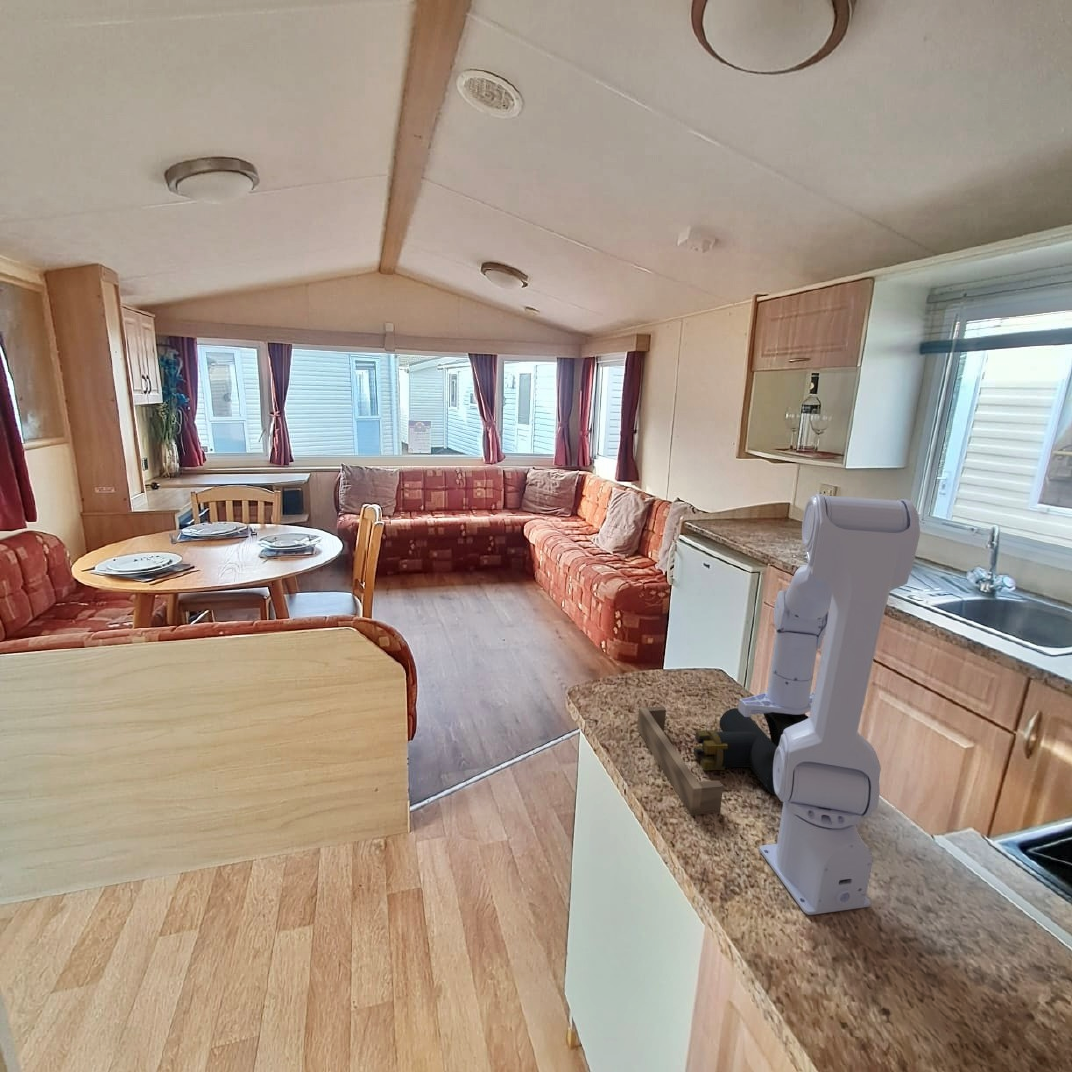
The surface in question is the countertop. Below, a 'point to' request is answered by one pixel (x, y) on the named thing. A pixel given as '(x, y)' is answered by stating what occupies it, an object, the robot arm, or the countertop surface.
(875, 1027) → the countertop surface
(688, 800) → the stop rail
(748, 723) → the pipe connector
